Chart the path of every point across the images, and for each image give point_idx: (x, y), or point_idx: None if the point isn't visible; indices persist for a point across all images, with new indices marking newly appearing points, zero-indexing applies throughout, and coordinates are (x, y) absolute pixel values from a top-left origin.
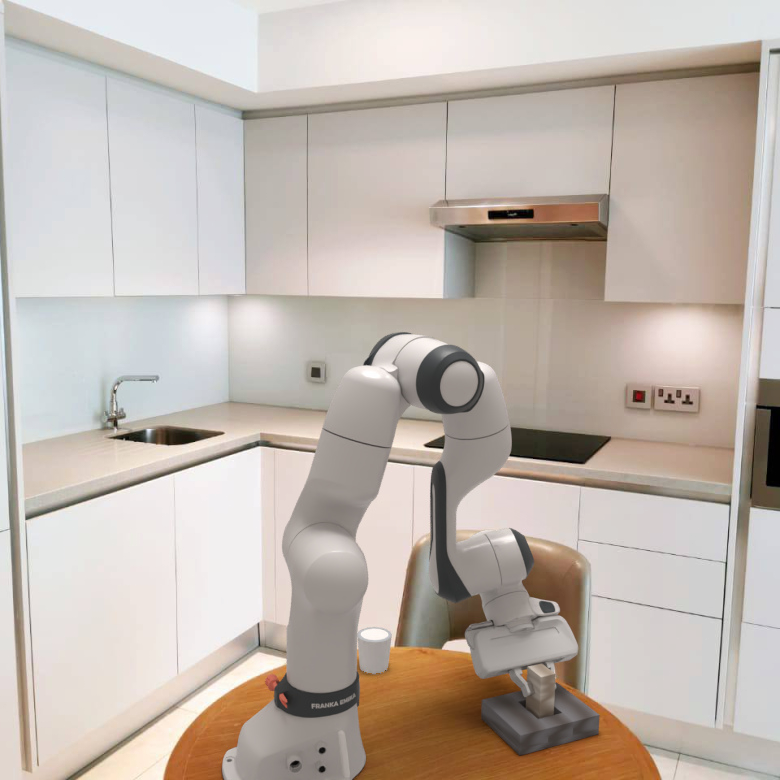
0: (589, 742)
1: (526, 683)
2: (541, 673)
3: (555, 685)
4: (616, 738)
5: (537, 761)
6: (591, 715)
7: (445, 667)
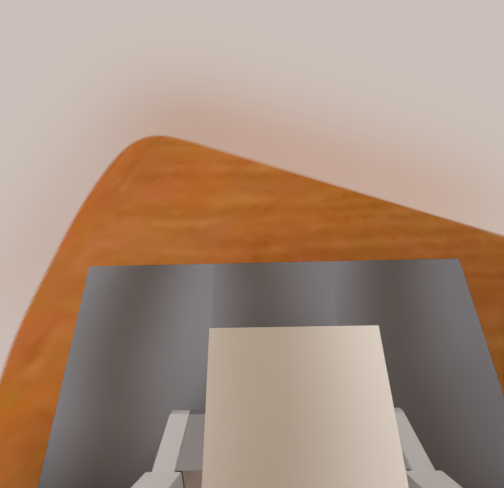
0: None
1: (420, 470)
2: (338, 391)
3: (174, 415)
4: (94, 254)
5: (377, 244)
6: (119, 274)
7: None
